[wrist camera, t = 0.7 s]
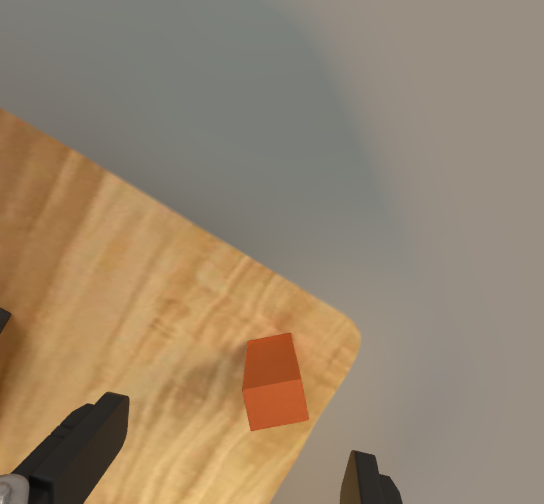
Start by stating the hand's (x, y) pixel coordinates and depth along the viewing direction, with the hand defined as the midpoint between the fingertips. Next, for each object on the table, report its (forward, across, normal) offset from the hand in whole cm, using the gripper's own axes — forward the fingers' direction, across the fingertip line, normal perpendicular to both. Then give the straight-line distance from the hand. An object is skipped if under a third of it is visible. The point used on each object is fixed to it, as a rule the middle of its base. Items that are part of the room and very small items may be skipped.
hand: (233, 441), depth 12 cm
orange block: (+19, 0, +7) cm, 20 cm away
